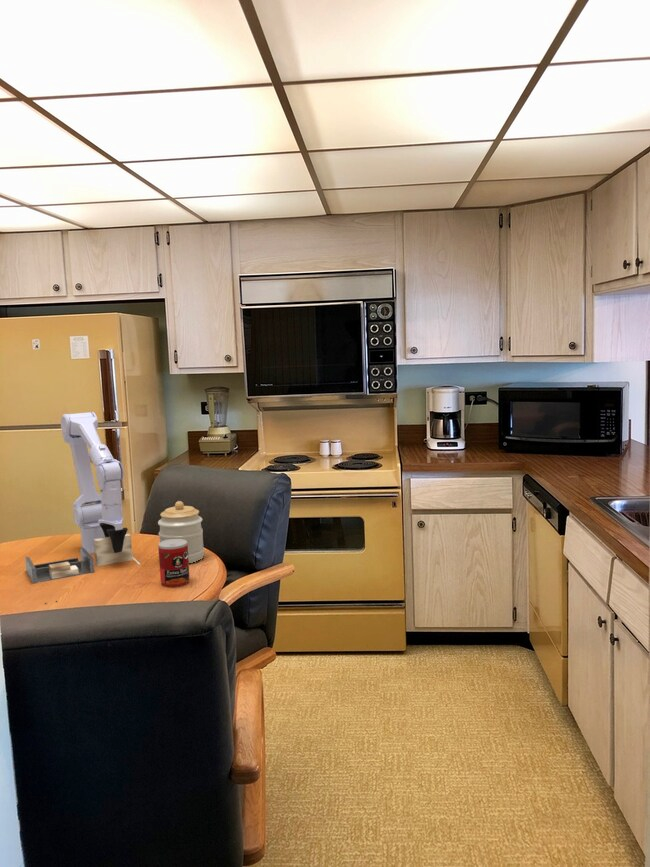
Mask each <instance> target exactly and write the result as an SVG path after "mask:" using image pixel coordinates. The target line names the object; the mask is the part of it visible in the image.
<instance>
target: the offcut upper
mask: <svg viewBox="0 0 650 867" xmlns="http://www.w3.org/2000/svg"><path fill="white" fill-rule="evenodd" d="M49 570H50V572H51V573H56V572H62V571H67V570H71V569H70V564H69V562H63V563H57V564H51V565H49Z"/></svg>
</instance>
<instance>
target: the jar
mask: <svg viewBox="0 0 650 867" xmlns="http://www.w3.org/2000/svg"><path fill="white" fill-rule="evenodd" d="M199 514H200V510H199V509H198V508H197V509H196V508H195V507H194V506H191V505H185V504H184V502H183V501H181V500H177V501H176V502H175V504H174V506H172V507H171V506H170V507H168V508H165V509H164V510H163V511H161V513H160V517H161V518H160V519H159V520H158V521H157V525H158V526H159V532H158V536H159V543H160V542H162V541H165V540H169V539H183V540H186V541H187V544H188V559H189V563H191V564H194V563H193V562H195V563H197V562H196V561H198V560H200V559H201V558H204V557H203V556H204V554H205V548H204V538H203V537H204V536H203V535H204V534H203V531H204V530H203V528H202V524H201V523H202V522H203V518H202V516H199ZM201 560H202V559H201ZM201 560H200V561H201ZM198 562H199V561H198Z"/></svg>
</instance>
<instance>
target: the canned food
mask: <svg viewBox="0 0 650 867" xmlns="http://www.w3.org/2000/svg"><path fill="white" fill-rule="evenodd" d="M158 558H159V559H158V561H159V575H160V577H159V578H160V584H161V585H162V586H163V587H166V588H178V587H182V586H185V585H187V584H188V583H189V582H188V581H190V564H189V559H188V544H187V541H186V540H183V539H169V540H165V541H162V542H160V541H159V543H158ZM186 583H187V584H186ZM184 584H185V585H184ZM181 585H182V586H181ZM177 586H178V587H177Z"/></svg>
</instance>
